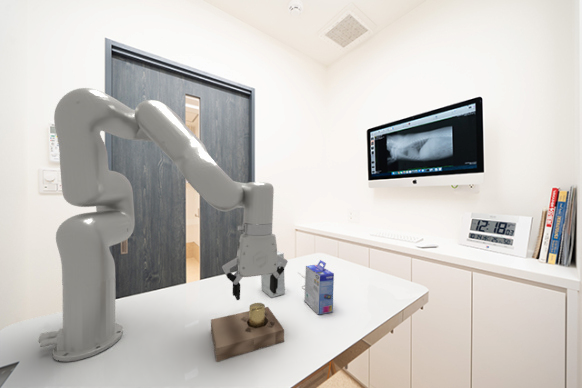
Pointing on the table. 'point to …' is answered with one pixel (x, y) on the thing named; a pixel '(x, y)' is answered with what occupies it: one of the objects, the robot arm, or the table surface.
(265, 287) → the skincare box
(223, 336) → the jig
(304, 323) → the table surface
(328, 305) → the ink cartridge box
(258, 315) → the brass cylinder
